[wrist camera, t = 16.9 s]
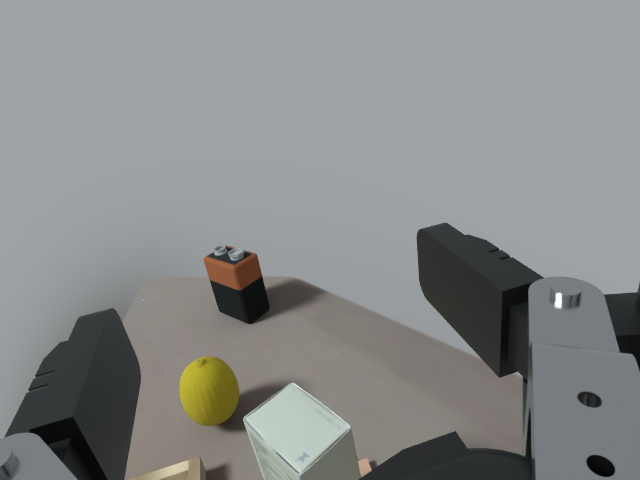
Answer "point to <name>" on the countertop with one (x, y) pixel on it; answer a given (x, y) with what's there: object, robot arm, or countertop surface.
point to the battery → (237, 283)
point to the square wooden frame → (178, 472)
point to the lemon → (209, 391)
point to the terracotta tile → (364, 467)
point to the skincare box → (301, 439)
